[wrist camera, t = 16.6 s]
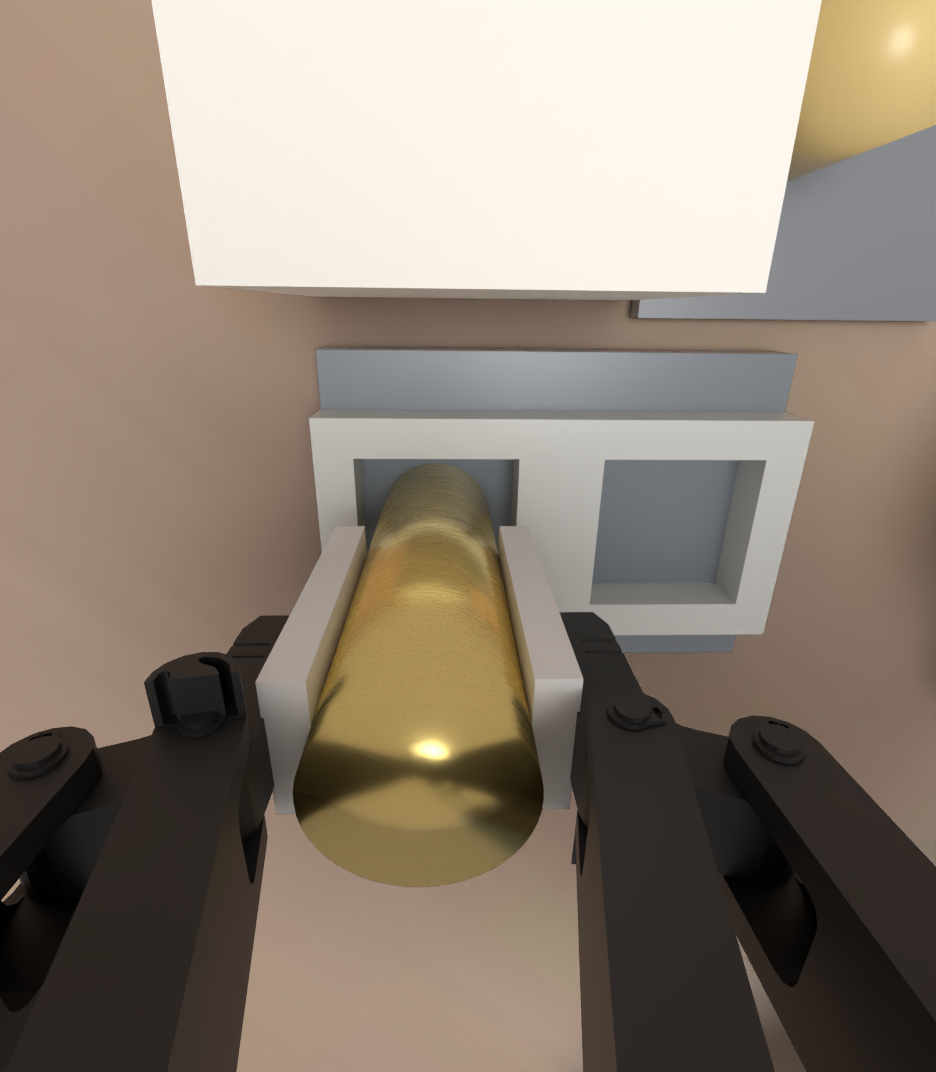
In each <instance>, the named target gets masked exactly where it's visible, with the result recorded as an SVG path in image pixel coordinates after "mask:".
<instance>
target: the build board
mask: <svg viewBox="0 0 936 1072" xmlns="http://www.w3.org/2000/svg"><path fill="white" fill-rule="evenodd" d="M797 355H798V354H792V353H784V352H777V351H708V350H608V349H507V348H406V347H322V348H319V349H316V360H317V371H318V383H319V395H320V406H321V409H320V410H319V411H318V412H316V413H315V414H314V415H312V416H311V417H310V418H309V424H310V435H311V445H312V456H313V466H314V477H315V488H316V498H317V509H318V519H319V530H320V541H321V551H322V552H323V550H324V548H325V546H326V544H327V542H328V540H329V538H330V536H331V534H332V532H333V530H334V529H335V527H336V526H365V537H366V553H367V554H368V551H369V548H370V545H371V542H372V539H373V536H374V533H375V530H376V527H377V524H378V521H379V518H380V514H381V511H382V508H383V505H384V502H385V499H386V496H387V494H388V492H389V490H390V488H391V486H392V485H393V483H394V482H395V481H396V480H397V479H398V478H399V477H400V476H401V475H402V474H404V473H405V472H407V471H408V470H410V469H412V468H414V467H417V466H420V465H424V464H431V463H440V464H447V465H451V466H454V467H457V468H459V469H461V470H463V471H465V472H466V473H468V474H469V475H471V476H472V477H473V478H474V479H475V480H476V481H477V482H478V484H479V485H480V486H481V488H482V489H483V491H484V493H485V496H486V499H487V502H488V507H489V512H490V517H491V522H492V527H493V532H494V537H495V542H496V547H497V552H498V556H499V527H500V526H528V527H529V530H530V533H531V535H532V538H533V541H534V544H535V546H536V549H537V552H538V555H539V557H540V560H541V563H542V566H543V569H544V571H545V574H546V577H547V580H548V582H549V585H550V588H551V591H552V593H553V596H554V599H555V602H556V604H557V607H558V610H559V612H594V613H595V614H596V615H597V616H599V617H600V618H601V619H602V620H604V621H605V622H606V623H607V624H609V626H610V628H611V630H612V632H613V634H614V636H615V638H616V642H618V644H619V646H620V648H621V650H622V653H697V652H732V650H733V645H734V641H735V636H736V635H740V634H763V633H764V628H765V624H766V620H767V616H768V612H769V608H770V604H771V600H772V595H773V591H774V587H775V583H776V579H777V575H778V571H779V566H780V562H781V558H782V554H783V550H784V546H785V542H786V537H787V533H788V529H789V525H790V521H791V517H792V513H793V508H794V504H795V500H796V496H797V492H798V488H799V484H800V479H801V475H802V471H803V467H804V463H805V459H806V455H807V450H808V446H809V442H810V438H811V434H812V430H813V426H814V422H815V421H812V420H809V419H806V418H803V417H799V416H796V415H793V414H789V413H786V412H785V410H786V405H787V401H788V396H789V391H790V387H791V382H792V378H793V373H794V369H795V364H796V360H797Z"/></svg>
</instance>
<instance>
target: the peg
mask: <svg viewBox="0 0 936 1072" xmlns="http://www.w3.org/2000/svg"><path fill="white" fill-rule="evenodd" d="M543 801H544V786H543V780H542V774H541V769H540V764H539V759H538V754H537V749H536V744H535V739H534V734H533V729H532V724H531V719H530V714H529V709H528V704H527V699H526V693H525V688H524V683H523V678H522V673H521V668H520V663H519V658H518V653H517V648H516V643H515V638H514V633H513V628H512V623H511V618H510V613H509V608H508V603H507V597H506V592H505V587H504V582H503V577H502V572H501V567H500V562H499V557H498V552H497V547H496V542H495V537H494V532H493V527H492V522H491V517H490V512H489V507H488V502H487V499H486V496H485V493H484V491H483V489H482V488H481V486H480V485H479V484H478V482H477V481H476V480H475V479H474V478H473V477H472V476H471V475H469V474H468V473H466V472H465V471H463V470H461V469H459V468H457V467H454V466H451V465H447V464H440V463H431V464H424V465H420V466H417V467H414V468H412V469H410V470H408V471H407V472H405V473H404V474H402V475H401V476H400V477H399V478H398V479H397V480H396V481H395V482H394V483H393V485H392V486H391V488H390V490H389V492H388V494H387V496H386V499H385V502H384V505H383V508H382V511H381V514H380V518H379V521H378V524H377V527H376V530H375V533H374V536H373V539H372V542H371V545H370V548H369V551H368V554H367V557H366V560H365V563H364V566H363V569H362V573H361V576H360V579H359V582H358V585H357V588H356V591H355V594H354V597H353V600H352V603H351V606H350V609H349V612H348V615H347V618H346V621H345V624H344V627H343V631H342V634H341V637H340V640H339V643H338V646H337V649H336V652H335V655H334V658H333V661H332V664H331V667H330V670H329V673H328V676H327V679H326V682H325V685H324V689H323V692H322V695H321V698H320V701H319V704H318V707H317V710H316V713H315V716H314V719H313V722H312V725H311V728H310V731H309V734H308V737H307V740H306V743H305V747H304V750H303V753H302V756H301V759H300V762H299V765H298V768H297V771H296V774H295V777H294V784H293V804H294V809H295V813H296V816H297V819H298V821H299V824H300V826H301V828H302V830H303V831H304V833H305V834H306V836H307V838H308V839H309V840H310V841H311V843H312V844H313V845H314V846H315V847H316V848H317V849H318V850H319V851H320V852H321V853H322V854H323V855H324V856H325V857H327V858H328V859H329V860H331V861H332V862H334V863H335V864H336V865H338V866H340V867H342V868H343V869H345V870H347V871H349V872H351V873H353V874H356V875H358V876H360V877H363V878H366V879H369V880H372V881H376V882H380V883H384V884H389V885H396V886H405V887H430V886H440V885H447V884H452V883H456V882H460V881H464V880H467V879H470V878H473V877H476V876H479V875H481V874H483V873H485V872H487V871H489V870H491V869H493V868H495V867H496V866H498V865H500V864H501V863H503V862H504V861H506V860H507V859H508V858H510V857H511V856H512V855H513V854H515V853H516V852H517V851H518V850H519V849H520V848H521V847H522V846H523V845H524V843H525V842H526V841H527V839H528V838H529V837H530V835H531V834H532V832H533V830H534V829H535V827H536V825H537V823H538V820H539V817H540V815H541V812H542V806H543Z"/></svg>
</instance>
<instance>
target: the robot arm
mask: <svg viewBox="0 0 936 1072" xmlns="http://www.w3.org/2000/svg"><path fill="white" fill-rule="evenodd" d="M366 557H367V553H366V537H365V526H336V527H335V529H334V530H333V532H332V534H331V536H330V538H329V540H328V542H327V544H326V546H325V548H324V550H323V552H322V554H321V556H320V558H319V560H318V561H317V563H316V565H315V567H314V569H313V571H312V573H311V575H310V577H309V579H308V581H307V583H306V585H305V587H304V589H303V591H302V593H301V594H300V596H299V598H298V600H297V602H296V604H295V606H294V608H293V610H292V612H291V614H290V616H260V617H259V618H257V619H256V620H254V621H253V622H252V623H250V624H249V625H247V626H246V627H245V628H243V629H242V631H241V633H240V634H239V636H238V637H237V639H236V640H235V642H234V643H233V647H231V648H230V650H229V651H228V653H227V654H223V653H219V652H201V653H196V654H191V655H186V656H183V657H180V658H177V659H175V660H172V661H170V662H167V663H166V664H164V665H163V666H161V667H159V668H158V669H156V670H155V671H153V672H152V673H151V675H150V676H149V677H148V678H147V679H146V681H145V682H144V685H145V689H146V693H147V697H148V701H149V705H150V709H151V713H152V717H153V721H154V725H155V729H154V731H153V733H152V735H150V736H147V737H144V738H140V739H137V740H133V741H128V742H124V743H120V744H115V745H111V746H106V747H102V748H97V747H96V743H95V740H94V737H93V736H92V735H91V734H90V733H89V732H88V731H87V730H86V729H82V728H76V727H61V728H52V729H49V730H45V731H42V732H38V733H35V734H32V735H30V736H28V737H26V738H24V739H22V740H20V741H18V742H16V743H14V744H12V745H10V746H9V747H7V748H6V749H5V750H3V751H2V752H1V753H0V1072H236V1070H237V1062H238V1055H239V1047H240V1040H241V1032H242V1025H243V1017H244V1010H245V1002H246V995H247V987H248V980H249V972H250V965H251V957H252V950H253V943H254V935H255V928H256V920H257V913H258V905H259V898H260V890H261V883H262V875H263V868H264V860H265V853H266V845H267V838H268V837H267V828H266V821H265V816H264V813H265V811H266V808H267V805H268V802H269V800H270V797H271V794H272V791H273V796H274V802H275V809H276V814H296V813H295V809H294V804H293V784H294V777H295V774H296V771H297V768H298V765H299V762H300V759H301V756H302V753H303V750H304V747H305V743H306V740H307V737H308V734H309V731H310V728H311V725H312V722H313V719H314V716H315V713H316V710H317V707H318V704H319V701H320V698H321V695H322V692H323V689H324V685H325V682H326V679H327V676H328V673H329V670H330V667H331V664H332V661H333V658H334V655H335V652H336V649H337V646H338V643H339V640H340V637H341V634H342V631H343V627H344V624H345V621H346V618H347V615H348V612H349V609H350V606H351V603H352V600H353V597H354V594H355V591H356V588H357V585H358V582H359V579H360V576H361V573H362V569H363V566H364V563H365V560H366ZM498 557H499V562H500V567H501V572H502V577H503V582H504V587H505V592H506V597H507V603H508V608H509V613H510V618H511V623H512V628H513V633H514V638H515V643H516V648H517V653H518V658H519V663H520V668H521V673H522V678H523V683H524V688H525V693H526V699H527V704H528V709H529V714H530V719H531V724H532V729H533V734H534V739H535V744H536V749H537V754H538V759H539V764H540V769H541V774H542V780H543V786H544V801H543V806H542V809H570V799H571V790H572V789H573V792H574V796H575V800H576V804H577V808H578V811H577V819H576V828H575V837H574V846H573V854H572V863H571V864H576V870H577V900H578V929H579V959H580V989H581V1018H582V1048H583V1072H774V1068H773V1065H772V1061H771V1057H770V1054H769V1050H768V1047H767V1043H766V1040H765V1036H764V1033H763V1029H762V1026H761V1022H760V1019H759V1015H758V1012H757V1008H756V1005H755V1001H754V998H753V994H752V991H751V987H750V984H749V980H748V977H747V973H746V970H745V966H744V963H743V959H742V956H741V952H740V948H739V945H738V941H737V938H736V936H737V937H738V939H739V941H740V943H741V945H742V947H743V949H744V951H745V953H746V955H747V957H748V959H749V961H750V963H751V965H752V966H753V968H754V970H755V972H756V974H757V976H758V978H759V980H760V982H761V984H762V986H763V988H764V990H765V992H766V994H767V996H768V997H769V999H770V1001H771V1003H772V1005H773V1007H774V1009H775V1011H776V1013H777V1015H778V1017H779V1019H780V1021H781V1023H782V1025H783V1026H784V1028H785V1030H786V1032H787V1034H788V1036H789V1038H790V1040H791V1042H792V1044H793V1046H794V1048H795V1050H796V1052H797V1054H798V1056H799V1057H800V1059H801V1061H802V1063H803V1065H804V1067H805V1069H806V1071H807V1072H936V867H935V865H934V864H933V863H932V862H931V861H930V860H929V859H928V858H927V857H926V856H925V855H924V854H923V853H922V852H921V851H920V849H919V848H918V847H917V846H916V845H915V844H914V843H913V842H912V841H911V840H910V839H909V838H908V837H907V836H906V835H905V833H904V832H903V831H902V830H901V829H900V828H899V827H898V826H897V825H896V824H895V823H894V822H893V821H892V820H891V818H890V817H889V816H888V815H887V814H886V813H885V812H884V811H883V810H882V809H881V808H880V807H879V806H878V805H877V804H876V802H875V801H874V800H873V799H872V798H871V797H870V796H869V795H868V794H867V793H866V792H865V791H864V790H863V789H862V787H861V786H860V785H859V784H858V783H857V782H856V781H855V780H854V779H853V778H852V777H851V776H850V775H849V774H848V773H847V771H846V770H845V769H844V768H843V767H842V766H841V765H840V764H839V763H838V762H837V761H836V760H835V759H834V758H833V757H832V755H831V754H830V753H829V752H828V751H827V750H826V749H825V748H824V747H823V746H822V745H821V744H820V743H819V742H818V741H817V740H816V739H814V738H813V737H812V736H811V735H809V734H808V733H807V732H806V731H804V730H802V729H800V728H798V727H796V726H794V725H792V724H790V723H789V722H785V721H782V720H779V719H775V718H772V717H764V716H749V717H745V718H740V719H738V720H737V721H736V722H735V723H734V724H733V725H731V729H730V733H729V737H726V736H722V735H717V734H712V733H707V732H703V731H698V730H694V729H691V728H687V727H684V726H681V725H679V724H677V723H675V720H674V718H673V716H672V715H671V713H670V711H669V709H668V708H666V707H665V706H664V705H663V704H662V703H660V702H659V701H658V700H656V699H654V698H652V697H650V696H648V695H646V694H644V693H643V692H642V690H641V688H640V686H639V684H638V682H637V680H636V678H635V676H634V674H633V672H632V670H631V668H630V666H629V664H628V662H627V660H626V658H625V656H624V654H622V650H621V648H620V646H619V644H618V642H616V638H615V636H614V634H613V632H612V630H611V628H610V626H609V624H607V623H606V622H605V621H604V620H602V619H601V618H600V617H599V616H597V615H596V614H595V613H594V612H559V610H558V607H557V604H556V602H555V599H554V596H553V593H552V591H551V588H550V585H549V582H548V580H547V577H546V574H545V571H544V569H543V566H542V563H541V560H540V557H539V555H538V552H537V549H536V546H535V544H534V541H533V538H532V535H531V533H530V530H529V527H528V526H500V527H499V556H498ZM18 879H20V881H21V883H20V885H19V886H18V887H17V888H16V890H15V891H14V892H13V893H12V894H11V895H10V896H9V897H8V898H7V899H6V900H5V901H3V902H2V901H1V900H2V898H3V897H4V896H5V895H6V894H7V892H8V891H9V890H10V889H11V887H12V886H13V885H14V884H15V883H16V881H17V880H18Z"/></svg>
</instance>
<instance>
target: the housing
mask: <svg viewBox="0 0 936 1072" xmlns="http://www.w3.org/2000/svg"><path fill="white" fill-rule="evenodd" d="M821 2H822V0H152V6H153V13H154V19H155V26H156V32H157V39H158V45H159V51H160V58H161V64H162V71H163V77H164V83H165V90H166V96H167V103H168V109H169V116H170V122H171V128H172V135H173V141H174V148H175V154H176V161H177V167H178V173H179V180H180V186H181V193H182V199H183V206H184V212H185V218H186V225H187V231H188V238H189V244H190V250H191V257H192V263H193V270H194V276H195V283H196V285H198V286H208V287H219V288H229V289H239V290H249V291H259V292H269V293H280V294H290V295H300V296H310V297H374V298H452V299H531V300H610V301H627V300H645V299H663V298H681V297H699V296H717V295H735V294H754V293H766V288H767V283H768V277H769V272H770V267H771V262H772V257H773V251H774V246H775V241H776V236H777V231H778V225H779V220H780V215H781V210H782V205H783V199H784V194H785V189H786V184H787V179H788V173H789V168H790V163H791V158H792V153H793V147H794V142H795V137H796V132H797V127H798V122H799V116H800V111H801V106H802V101H803V96H804V90H805V85H806V80H807V75H808V70H809V64H810V59H811V54H812V49H813V44H814V38H815V33H816V28H817V23H818V18H819V12H820V7H821Z"/></svg>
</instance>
